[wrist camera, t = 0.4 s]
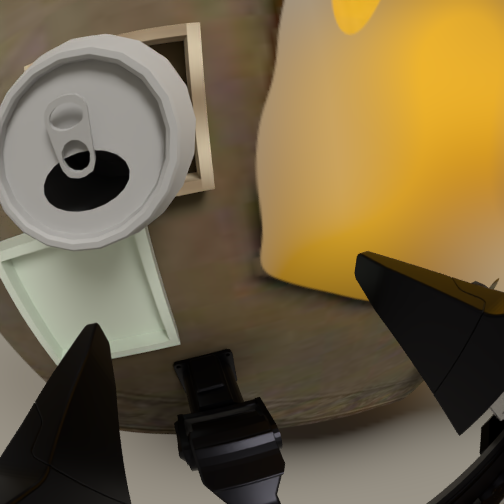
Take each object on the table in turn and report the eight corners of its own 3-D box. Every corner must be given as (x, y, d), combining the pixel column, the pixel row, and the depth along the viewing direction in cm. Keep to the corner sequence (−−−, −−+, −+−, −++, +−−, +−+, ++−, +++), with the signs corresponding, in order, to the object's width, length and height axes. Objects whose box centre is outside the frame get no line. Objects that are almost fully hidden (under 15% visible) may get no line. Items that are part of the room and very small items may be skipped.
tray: (177, 328, 26) (180, 344, 25) (60, 351, 23) (58, 367, 21) (141, 200, 19) (140, 211, 18) (-1, 241, 16) (-11, 255, 14)
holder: (209, 180, 20) (214, 188, 19) (64, 214, 18) (57, 226, 16) (195, 29, 14) (199, 22, 13) (35, 68, 12) (24, 66, 10)
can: (79, 185, 17) (17, 292, 7) (60, 83, 13) (-45, 83, 3) (181, 160, 19) (219, 243, 9) (168, 56, 15) (194, -2, 5)
